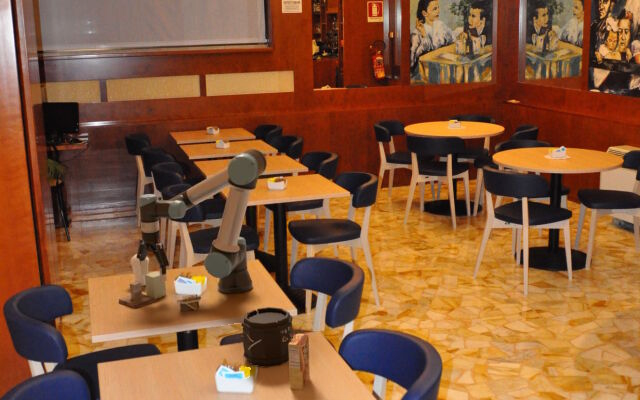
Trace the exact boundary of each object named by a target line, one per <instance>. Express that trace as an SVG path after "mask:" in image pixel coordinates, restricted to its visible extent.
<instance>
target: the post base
mask: <svg viewBox="0 0 640 400" xmlns="http://www.w3.org/2000/svg"><path fill="white" fill-rule="evenodd" d="M142 291H143V290H142V286H141V283H140V282H137V281H136V280H135V281H133V282H129V293H130V294H129V295H127V296H125V297H122V298H118V303H119V304H123V305H125V306H128V307H130V308H133V309H137V308H141V307H144V306H146V305H149V304H152V303H156V299H155V298H153V297H150V296H147V294H144V293H143V292H142Z"/></svg>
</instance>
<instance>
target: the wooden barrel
mask: <svg viewBox="0 0 640 400" xmlns="http://www.w3.org/2000/svg"><path fill="white" fill-rule="evenodd" d="M240 325H241V326H242V334H240V340H242V346H243V357H244V358H246V359H245V360H246V361H247V362H248V363H249V364H250V365H252V366H253V365H258V366H257V367H261V368H271V367H278V366H283V365H284V364H285V363H287V362H288V363H289V348H288V344H289V343H290V342H291V340H292V339H293V338H294V327H293V316H292V315H291V314H290V312H289V311H288V310H287V309H286V310H285V309H284V308H282V307H271V306H267V307H260V308H257V309H252V310H250V311H248V312H247V313H245V315H244V317H243V319H242V322H241V324H240Z"/></svg>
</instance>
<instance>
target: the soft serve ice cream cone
mask: <svg viewBox="0 0 640 400" xmlns="http://www.w3.org/2000/svg"><path fill="white" fill-rule="evenodd" d="M140 255H141V254H140ZM145 260H147V271H148V272H149V263H150V258H149V257H148V256H147V257H146V259H145ZM129 262H130V265H131V268H132V272H133V273H132V274H133V276H134V279H135V281H137V282H140V283H141V287H143V286H146V284H145V275H144V276H142V274H141V265H140V260H139V258H138V259H137V253H136V254H134V255H133V256H132V257H131V258H130V261H129Z"/></svg>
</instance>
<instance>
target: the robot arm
mask: <svg viewBox="0 0 640 400" xmlns="http://www.w3.org/2000/svg"><path fill="white" fill-rule="evenodd" d="M267 165H268V163H267V157H266V156H265V154H264V153H263V152H262V151H260V150H258V149H253V148H252V149H248V150H245V151H243V152H242V153H238V154H236V155H235V156H234V157H233V158H232V159H231V160H230V161H229V164H228V165H227V166H226V167H225V168H224V169H221V170H220V171H218V172H216V173H214V174H213V175H211V176H208V177H207V178H205V179H204V180H201V182H199V183H196V184H195V185H193V186H192V187H190V188H188V189H186V190H184V191H182V192H180V193H178V194H177V195H176V196H174V197H172V198H170V199H158V196H157V195H156V194H154V193H146V194H142V195H140V196H139V198H138V202H139V204H138V208H139V214H140V228H141V238H140V239H139V244H138V245H139V246H138V249H137V253H136V254H137V259H138V258H139V260H140V265H141V274H142V276H144V275H146V274H149V270H148V271H147V260H145V259H146V257H148V255H149V253H152V255H154V257H155V259H156V261H157V263H158V265H159V267H158V268H159V270H158V272H160V282H164V281H165V282H167V280H168V279H167V267H168V266H170V263H169V260H168V256H167V255H166V251H165V248H164V243H159V240H160V239H161V236H160V234H161V233H160V220H159V219H174V220H176V219H182V218H184V217H185V216H186V213H187V210H189V209H191V208H193V207H195V206H196V205H198V204H199V203H201V202H204V201H205V200H208V199H209V198H210V197H212V196H215V195H216V194H218V193H220V192H221V191H223V190H225V189H227V188H229V191H228V193H227V194H228V195H227V198H226V201H225V206H224V210H223V213H222V218H221V222H220V225H219V228H218V229H219V231H218V234H217V238H216V239H213V241H212V243H211V247H210V250H209V253H208V254H207V255H206V257H205V258H204V263H203V264H204V265H203V266H204V268H205V270H206V272H207V273H208V274H209V275H210V276H212V277H213V278H216V279H218V283H217V290H218V291H219V292H221V293H222V294H223V293H224V294H239V293H245V292H248V291H250V290H251V289H253V281H252V280H253V279H252V277H251V275H250V273H249V270H248V259H247V258H248V256H247V255H248V253H247V244H246V243H247V242H246V239H245V238H244V237H242V236H240V234H241V230H242V227H243V226H242V225H243V223H244V222H243V221H244V218H245V216H246V212H247V211H246V210H247V207H248V204H249V199H250V196H251V193H252V191H255V189H256V188H257V184H258V181H259V180H258V179H259V177H260V176H261V175H263V173H264V172H265V171H266V169H267ZM140 254H141V255H140Z"/></svg>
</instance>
